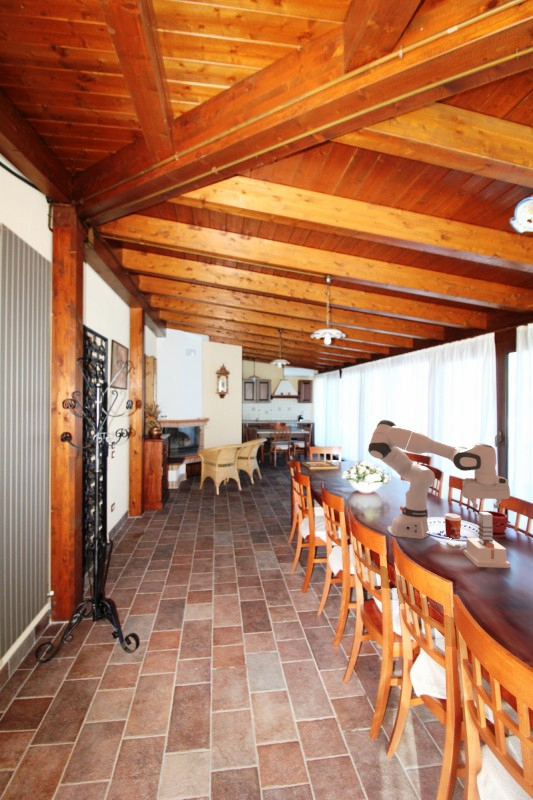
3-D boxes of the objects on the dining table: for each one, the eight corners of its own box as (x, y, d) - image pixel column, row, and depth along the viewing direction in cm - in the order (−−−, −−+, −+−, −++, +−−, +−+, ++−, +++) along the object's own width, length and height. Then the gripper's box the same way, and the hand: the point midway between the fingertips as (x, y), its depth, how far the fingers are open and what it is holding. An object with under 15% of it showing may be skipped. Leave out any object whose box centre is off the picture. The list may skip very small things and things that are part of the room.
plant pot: (512, 540, 195) (512, 517, 195) (485, 538, 198) (485, 516, 198) (501, 531, 208) (501, 510, 208) (476, 529, 211) (476, 509, 211)
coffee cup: (455, 548, 185) (454, 518, 185) (440, 542, 192) (440, 514, 192) (465, 545, 189) (465, 516, 189) (451, 539, 196) (450, 512, 196)
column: (483, 561, 169) (483, 514, 169) (478, 557, 173) (478, 511, 173) (493, 562, 169) (493, 514, 169) (488, 558, 173) (488, 511, 173)
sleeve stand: (477, 566, 165) (477, 545, 165) (463, 553, 179) (463, 534, 179) (510, 567, 163) (510, 546, 163) (493, 554, 177) (493, 534, 177)
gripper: (465, 479, 169) (465, 509, 169) (511, 480, 167) (512, 510, 167) (459, 476, 175) (459, 505, 175) (504, 477, 173) (504, 506, 173)
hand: (485, 507), depth 171 cm, fingers open, 8 cm apart
